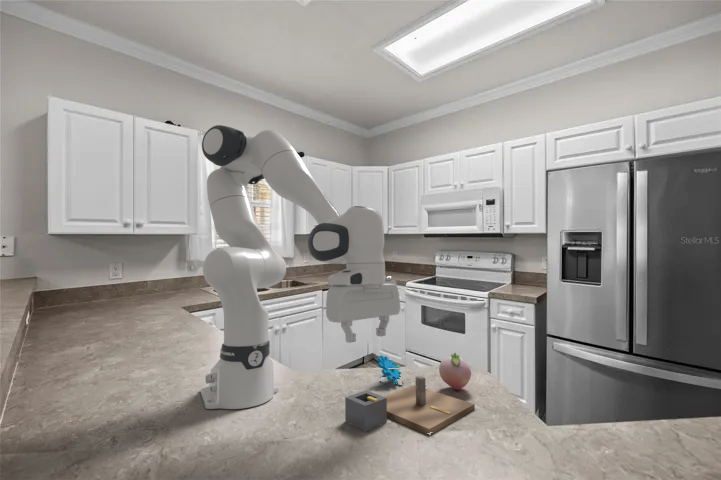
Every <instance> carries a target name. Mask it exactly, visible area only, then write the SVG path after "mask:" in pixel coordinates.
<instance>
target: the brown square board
mask: <svg viewBox="0 0 721 480" xmlns="http://www.w3.org/2000/svg"><path fill="white" fill-rule="evenodd" d="M414 379H415V385H410V386H408V387H405V388H403V389H399V390H397V391H394V392H392V393H388V394H386V395H383V397H386V398H387V419H391V420H393V421H396V422H399V423H400V424H403V425H405V426H407V427H409V428H412V429H414V430H415V431H419V432H421V433H423V434H425V433H430V432H435V433H437V432H438V431H440V430H442V429H443V428H446V427H447V426H448V425H450V424H452V423H454V422H456V421H457V420H459V419H461V418H463V417H464V416H466V415H468V414H469V413H471V412H472V411H475V403H473V402H469V401H465V400H463V399H460V398H456V397H453V396H451V395H447V394H444V393H440V392H437V391H433V390H430V389H428V388H426V377H425V376H424V375H423V376H422V375H416V376H415V378H414Z"/></svg>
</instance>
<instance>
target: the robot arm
mask: <svg viewBox="0 0 721 480" xmlns="http://www.w3.org/2000/svg"><path fill="white" fill-rule="evenodd" d="M201 141H202V142H201V149H202V153H203V155H204V158H205V159H207V160H208V161H210V162H211V163H212V164H213V165H216V166H218V167H219V168H217V169H215V170H213V171H211V172H210V173H209V174H208V176H207V178H206V192H207V193H206V194H207V200H208V206H209V209H210V213H211V217H212V221H213V225H214V230H215V232H216V234H217V236H218V237H219V238H220V239H221V240H222V241H223V242H224V243H226V244H227V246H228V247H227V246H226V247H221V248H215V249H213V250H211V251H210V252H209V253H208V254H207V255H206V257H205V259H204V262H203V265H202V274H203V277H204V280H205V282H206V283H207V284H208V285H209V286H210V287H211V288H213V290H214V291H215V293H216V294H217V296H218V299H219V301H220V304H221V307H222V310H223V311H222V312H223V343H222V344H221V347H220V352H219V353H220V354H219V360H218V361H217V362H216V363H215V364H214V366H213V367H212V368H211V369H210V373H207V374H205V385H203V386H201V387H200V395H201V397H202V401H203V404H204V408H205V409H207V410H213V409H214V410H215V409H217V410H218V409H225V410H240V409H241V410H242V409H247V408H248V409H249V408H252V407H256V406H260V405H262V404H265V403H267V402H268V401H270V400H272V398H273V396H274V394H275V393H277V392H278V391H279V385H276V384H275V374H274V372H275V370H274V367H275V366H274V360H273V359H272V358H270V357H269V355H270V353H271V352H270V349H271V345H270V341H269V321H270V320H269V318H270V317H269V316H270V315H269V314H270V313H269V310H268V309H267V308H266V307H265V306H264V305H263V304H262V303H261V302H262V301H260V297H259V294H258V289H266V288H267V289H268V288H270V287H272V286H274V285H278V284H279V283H280V282H282V281H283V280H284V279H285V276H286V272H287V264H286V261H285V260H284V258H283V256H281V255H280V254H279V253H277V251H276V250H275V249H274V248H273V247H272V245H271V243H270V241H268V238H267V237H266V236H265V234H264V233H263V231H262V229H261V227H260V225H259V222H258V220H257V217H256V213H255V209H254V207H253V203H252V201H251V197H250V195H249V190H248V186H249V185H256V184H258V183H259V182H260V181H262V180H265V182H266V183H267V184H268V186H269V187H270V188H271V190H273V191H274V193H275V194H277V195H278V196H279V197H281V198H283V199H285V200H286V201H289V202H291V203H293V204H295V205H297V206H298V207H300V208H302V209H303V210H305V211H306V212H308V213H309V214H310V215H311V217H313V218H312V219H314V221H316V223H317V225H315V226H314V227H313V228H312V229H311V231H310V233H309V236H308V239H307V248H308V251H309V253H310V255H311V256H312V258H313V259H315V260H316V261H319V262H321V263H325V264H326V263H327V264H333V265H334V264H335V265H336V264H337V265H342V266H346V268H344V269H342V270H340V271H338V272H335V273H333V274H330V275H329V276H328V277H327V282H328V285H329V286H330V287H329V288H328V289H327V293H326V302H325V315H326V319H328V321H329V322H332V323H338V324H339V323H340V326H341V328H342V330H343V332H344V334H345V335H344V336H345V342H346V343H350V344H351V343H356V340H357V333H355V332H353V330H352V326H353V322H355V321H359V320H368V319H374V318H378V321H379V324H378V327H376V329H375V331H376V336H377V337H385V336H386V335H387V327H388V324H389V323H390V316H396V315H399V314H400V312H401V300H400V293H399V292H400V291H399V289H398V288H399V287H398V285H397V280H396V279H394V277H393V276H386V261H385V257H384V248H385V229H384V223H383V217H382V214H381V213H380V212H379V211H378V210H376V209H374V208H372V207H366V206H360V205H356V206H355V205H354V206H351V207H349V208H348V209H347V210H346V211H345V212H344V213H342V214H340V213H339V212H338V210H337V209H336V207H334V205H333V203H332V202H331V201H330V199H328V197H327V196H326V194H325V193H324V192H323V190H322V188H320V186H319V184H318V182H317V181H316V180H315V178H314V177H313V175H312V173H311V172H310V170H309V168H308V167H307V165H306V164H305V162H304V161H303V159H302V158H301V156H300V154H298V152H297V151H296V149H295V148H294V147H293V145H292V144H291V142H289V141H288V140H287V139H286V138H285V136H283V135H282V134H281V133H280V132H278V131H277V130H273V129H265V130H262V131H259V132H258V133H257V134H256V135H254V136H253V137H252V136H249V135H247V134H245V133H244V131H241V130H239V129H237V128H236V129H235V128H234V127H230V126H226V125H222V124H220V125H219V124H218V125H217V124H216V125H214V126H211V127H210V128H209V129H208V130H207V131H206V132H205V134H204V135H203V137H202V140H201Z"/></svg>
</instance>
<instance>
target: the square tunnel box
mask: <svg viewBox="0 0 721 480" xmlns="http://www.w3.org/2000/svg"><path fill="white" fill-rule="evenodd" d="M344 399H345V401H344V402H345V409H344V410H345V414H344V415H345V416H344V417H345V420H344V421H345V423H348V424H350V425H352V426H353V427H355V428H358V429H360V430H361V431H363V432H365V433H366V432H368V431H370V430H372V429H375V428H377V427H379V426H381V425H384V424H386V423H387V422H388V417H387V398H386V397H384V395H380V394H378V393H375V392H373V391H369V390H368V389H366V390H363V391H359V392H357V393H354V394H351V395H349V396H348V395H347V396H345V398H344Z"/></svg>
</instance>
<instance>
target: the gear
mask: <svg viewBox="0 0 721 480" xmlns="http://www.w3.org/2000/svg"><path fill="white" fill-rule="evenodd" d="M376 361H377V362H378V363H377V365H378V367H379V368H380V369H381V373H382V375H381V377H386V379H387V380H388V381H389V382H391V381H392V380H393V381H392V383H393V384H394V383H395V384H396V383H398V381H397V379H400V378H399V377H401V376H400V374H401V373H403V372H401V371H400V369H388V368H401V366H400V364H396V365H394V364H395V362H394V360H393V359H391V360H390V357H388V356H387V355H385V356H384V355H383V354H380V355H379V357H378V358H377V360H376ZM395 384H394V385H395Z"/></svg>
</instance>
